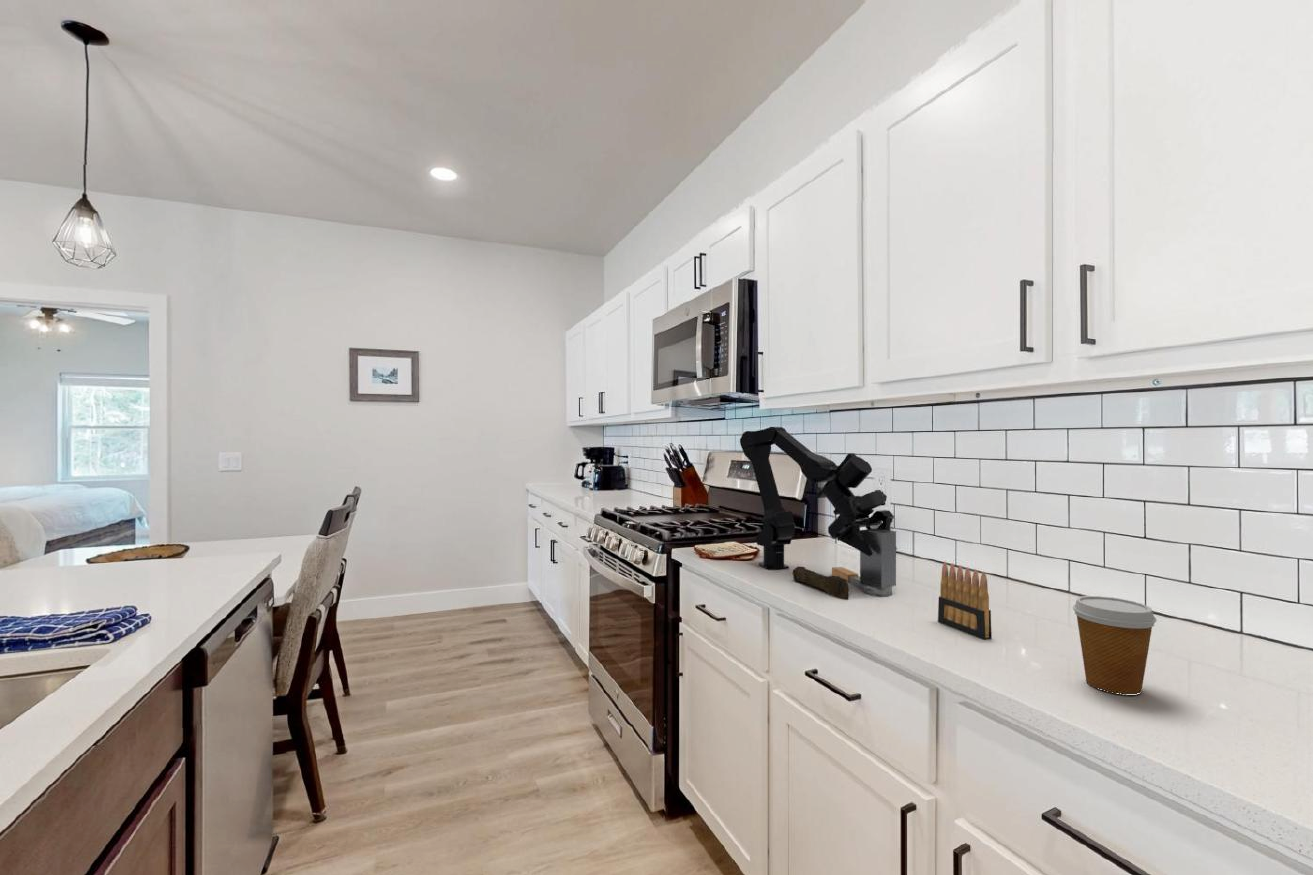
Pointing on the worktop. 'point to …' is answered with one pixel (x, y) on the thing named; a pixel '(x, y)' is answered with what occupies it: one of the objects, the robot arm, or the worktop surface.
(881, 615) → the worktop surface
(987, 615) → the ammunition clip
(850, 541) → the robot arm
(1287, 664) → the worktop surface
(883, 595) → the ratchet
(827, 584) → the hand tool
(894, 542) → the grey metal square prism
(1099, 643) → the disposable coffee cup
